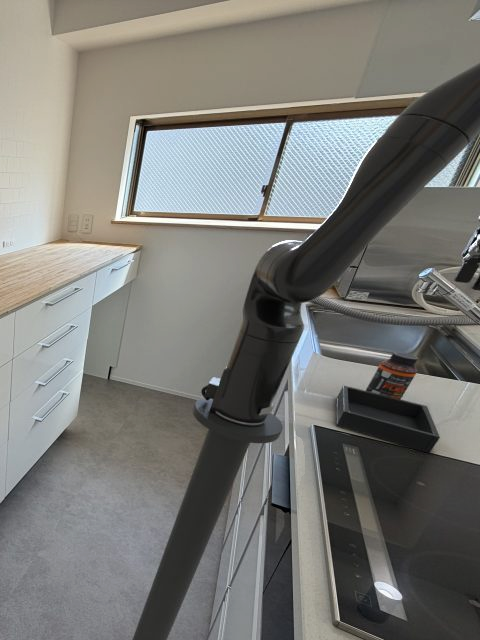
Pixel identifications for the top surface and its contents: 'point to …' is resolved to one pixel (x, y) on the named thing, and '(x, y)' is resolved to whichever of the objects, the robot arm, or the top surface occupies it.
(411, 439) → the bin
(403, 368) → the supplement bottle
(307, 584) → the top surface
